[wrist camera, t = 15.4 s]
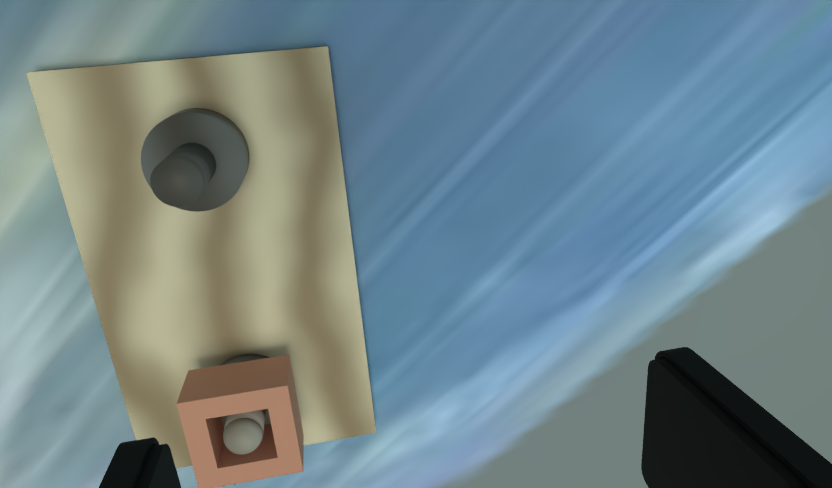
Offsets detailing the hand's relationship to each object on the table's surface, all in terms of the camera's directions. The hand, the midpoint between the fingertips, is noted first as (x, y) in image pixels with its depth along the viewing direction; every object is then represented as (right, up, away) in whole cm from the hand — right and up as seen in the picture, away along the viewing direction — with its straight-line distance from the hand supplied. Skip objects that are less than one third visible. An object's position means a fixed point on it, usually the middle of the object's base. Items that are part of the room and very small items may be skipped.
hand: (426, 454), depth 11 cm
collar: (-12, -8, +31) cm, 35 cm away
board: (-14, +2, +32) cm, 34 cm away
